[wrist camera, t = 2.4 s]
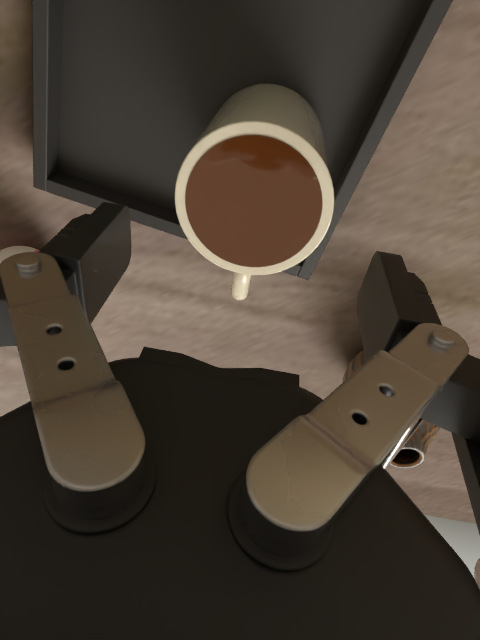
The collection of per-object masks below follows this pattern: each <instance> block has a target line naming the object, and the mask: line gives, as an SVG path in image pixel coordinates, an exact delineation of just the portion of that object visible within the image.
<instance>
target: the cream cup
mask: <svg viewBox="0 0 480 640" xmlns="http://www.w3.org/2000/svg"><path fill="white" fill-rule="evenodd" d="M175 206H176V213H177V216H178V219H179V223H180V225H181V227H182V229H183V232H184V233H185V235H186V237H187V238H188V240H189V241H190V242H191V244H192V245H193V246H194V247H195V248H196V249H197V250H198V252H199V253H200V254H202V255H203V256H204V257H205V258H207V259H208V260H209V261H211V262H213V263H214V264H216V265H218V266H220V267H222V268H224V269H227V270H229V271H232V272H234V274H233V281H232V288H231V294H232V296H233V298H234V299H236V300H243V299H245V298H246V297H247V295H248V292H249V286H250V281H251V275H265V274H272V273H277V272H280V271H283V270H286V269H288V268H290V267H292V266H294V265H296V264H298V263H299V262H301V261H303V260H304V259H305V258H306V257H308V256H309V255H310V254H311V253H312V252H313V251H314V250H315V249H316V248H317V247H318V245H319V244H320V242H321V241H322V240H323V238H324V236H325V234H326V233H327V231H328V228H329V226H330V223H331V220H332V215H333V211H334V189H333V184H332V178H331V173H330V168H329V162H328V157H327V152H326V146H325V141H324V136H323V130H322V126H321V123H320V120H319V118H318V116H317V114H316V112H315V111H314V109H313V108H312V106H311V105H310V104H309V103H308V102H307V101H306V100H305V99H304V98H303V97H302V96H301V95H299V94H298V93H296V92H295V91H293V90H291V89H289V88H286V87H284V86H280V85H276V84H258V85H253V86H249V87H247V88H244V89H242V90H240V91H238V92H236V93H235V94H233V95H232V96H231V97H229V98H228V99H227V100H226V101H225V102H224V103H223V105H222V106H221V107H220V108H219V110H218V111H217V113H216V114H215V116H214V117H213V118H212V120H211V121H210V123H209V124H208V126H207V127H206V128H205V130H204V131H203V133H202V134H201V136H200V137H199V138H198V140H197V141H196V143H195V144H194V146H193V147H192V148H191V150H190V151H189V153H188V154H187V156H186V158H185V159H184V161H183V163H182V165H181V167H180V170H179V172H178V176H177V180H176V185H175Z"/></svg>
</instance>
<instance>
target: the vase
mask: <svg viewBox="0 0 480 640" xmlns="http://www.w3.org/2000/svg"><path fill="white" fill-rule="evenodd" d="M365 363H366V361H365V355H364V350H362V351H361V352H360V353H358V354H357V355H356V356H355V357H354V358H353V359H352V360H351V362H350V363H349V365H348V367H347V369H346V371H345V374H344V378H343V382H344V381H345V380H347V379H348V378H349V377H350V376H351V375H352V374H353V373H354V372H356V371H357V370H358V369H359V368H360V367H361V366H362V365H363V364H365ZM439 428H440V427H438V426H436V425H434V424H432V423H429V422H427V421H425V420H423V421H422V423H421V424H420V425H419V427H418V428H417V429H416V431H415V432H414V433H413V434H412V436H411V437H410V438H409V440H408V441H407V442H406V443H405V445H404V446H403V447H402V449H401V450H400V451H399V452H398V454H397V455H396V456H395V458H394V459H393V460H392V462H391V463H390V465H392V466H394V467H398V468H411V467H414V466H417V465H419V464H420V463H422V462H423V461H424V459H425V456H426V451H427V448H428V446H429V444H430V443H431V441H432V440H433V438H434V437H435V435H436V434H437V432H438V430H439Z"/></svg>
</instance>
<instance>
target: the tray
mask: <svg viewBox="0 0 480 640" xmlns="http://www.w3.org/2000/svg"><path fill="white" fill-rule="evenodd" d="M452 1H453V0H32V66H33V174H34V187H35V188H38V189H41V190H44V191H47V192H49V193H52V194H55V195H58V196H61V197H64V198H67V199H70V200H73V201H76V202H79V203H81V204H84V205H87V206H90V207H93V208H96V209H97V208H98V207H99V206H100V205H101V203H103V202H108V203H114V204H120V205H125V206H128V208H129V211H130V220H132V221H135V222H138V223H140V224H143V225H146V226H149V227H152V228H155V229H158V230H161V231H164V232H167V233H170V234H173V235H176V236H179V237H182V238H185V239H188V238H187V237H186V235H185V233H184V232H183V229H182V227H181V225H180V223H179V219H178V216H177V213H176V206H175V185H176V180H177V176H178V172H179V170H180V167H181V165H182V163H183V161H184V159H185V158H186V156H187V154H188V153H189V151H190V150H191V148H192V147H193V146H194V144H195V143H196V141H197V140H198V138H199V137H200V136H201V134H202V133H203V131H204V130H205V128H206V127H207V126H208V124H209V123H210V121H211V120H212V118H213V117H214V116H215V114H216V113H217V111H218V110H219V108H220V107H221V106H222V105H223V103H224V102H225V101H226V100H227V99H228V98H229V97H231V96H232V95H233V94H235V93H236V92H238V91H240V90H242V89H244V88H247V87H249V86H253V85H258V84H276V85H280V86H284V87H286V88H289V89H291V90H293V91H295V92H296V93H298V94H299V95H301V96H302V97H303V98H304V99H305V100H306V101H307V102H308V103H309V104H310V105H311V106H312V108H313V109H314V111H315V112H316V114H317V116H318V118H319V120H320V123H321V126H322V130H323V136H324V141H325V146H326V152H327V157H328V162H329V168H330V173H331V178H332V184H333V189H334V211H333V215H332V220H331V223H330V226H329V228H328V231H327V233H326V234H325V236H324V238H323V240H322V241H321V242H320V244H319V245H318V247H317V248H316V249H315V250H314V251H313V252H312V253H311V254H310V255H309V256H308V257H306V258H305V259H304V260H303V261H301V262H299V263H298V264H296V265H294V266H292V267H290V268H288V269H286V270H283V271H282V272H285V273H288V274H291V275H294V276H298V277H300V278H303V279H306V280H308V279H309V277H310V275H311V273H312V272H313V270H314V268H315V266H316V264H317V262H318V260H319V258H320V256H321V254H322V252H323V250H324V248H325V246H326V244H327V243H328V241H329V239H330V237H331V235H332V233H333V231H334V229H335V227H336V225H337V223H338V221H339V219H340V217H341V215H342V213H343V212H344V210H345V208H346V206H347V204H348V202H349V200H350V198H351V196H352V194H353V192H354V190H355V188H356V186H357V184H358V183H359V181H360V179H361V177H362V175H363V173H364V171H365V169H366V167H367V165H368V163H369V161H370V159H371V157H372V155H373V154H374V152H375V150H376V148H377V146H378V144H379V142H380V140H381V138H382V136H383V134H384V132H385V130H386V128H387V126H388V125H389V123H390V121H391V119H392V117H393V115H394V113H395V111H396V109H397V107H398V105H399V103H400V101H401V99H402V97H403V96H404V94H405V92H406V90H407V88H408V86H409V84H410V82H411V80H412V78H413V76H414V74H415V72H416V70H417V68H418V67H419V65H420V63H421V61H422V59H423V57H424V55H425V53H426V51H427V49H428V47H429V45H430V43H431V41H432V39H433V38H434V36H435V34H436V32H437V30H438V28H439V26H440V24H441V22H442V20H443V18H444V16H445V14H446V12H447V10H448V8H449V7H450V5H451V3H452Z"/></svg>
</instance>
